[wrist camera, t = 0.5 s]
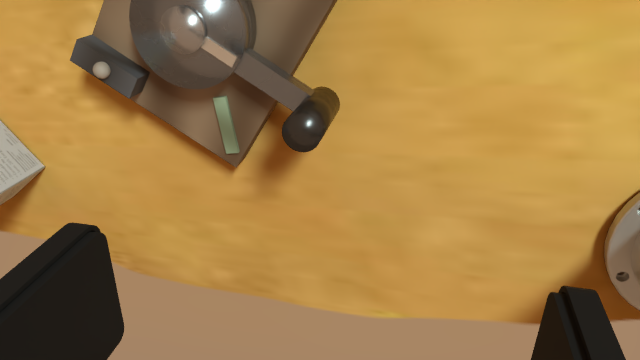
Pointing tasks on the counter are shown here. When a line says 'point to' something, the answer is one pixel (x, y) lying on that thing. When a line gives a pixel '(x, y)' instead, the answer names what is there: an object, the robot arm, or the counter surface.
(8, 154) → the light bulb box
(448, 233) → the counter surface
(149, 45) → the grey crank handle
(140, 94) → the crank board
